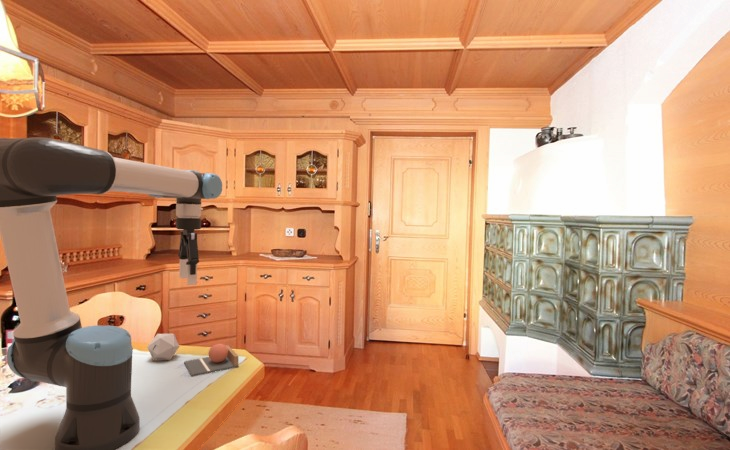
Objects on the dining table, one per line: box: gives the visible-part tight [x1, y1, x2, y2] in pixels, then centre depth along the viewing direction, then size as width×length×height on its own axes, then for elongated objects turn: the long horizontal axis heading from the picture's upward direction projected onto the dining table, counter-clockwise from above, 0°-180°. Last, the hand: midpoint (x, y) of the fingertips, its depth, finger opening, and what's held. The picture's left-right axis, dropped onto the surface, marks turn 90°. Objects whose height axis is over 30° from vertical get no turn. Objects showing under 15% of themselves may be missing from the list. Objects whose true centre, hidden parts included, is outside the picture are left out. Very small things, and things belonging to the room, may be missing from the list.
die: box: [146, 333, 180, 361], centre depth 128 cm, size 8×9×10 cm
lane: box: [183, 344, 239, 377], centre depth 123 cm, size 14×12×4 cm
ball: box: [208, 343, 228, 363], centre depth 124 cm, size 6×6×6 cm
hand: (187, 281), depth 125 cm, fingers open, 13 cm apart
